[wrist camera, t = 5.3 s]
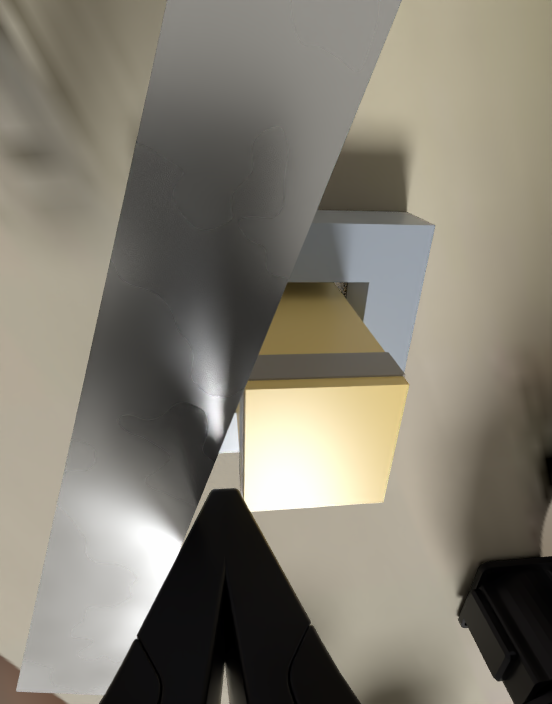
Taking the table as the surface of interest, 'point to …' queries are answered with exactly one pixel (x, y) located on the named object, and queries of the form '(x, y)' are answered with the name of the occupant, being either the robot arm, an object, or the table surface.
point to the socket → (367, 274)
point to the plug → (318, 407)
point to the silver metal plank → (190, 299)
